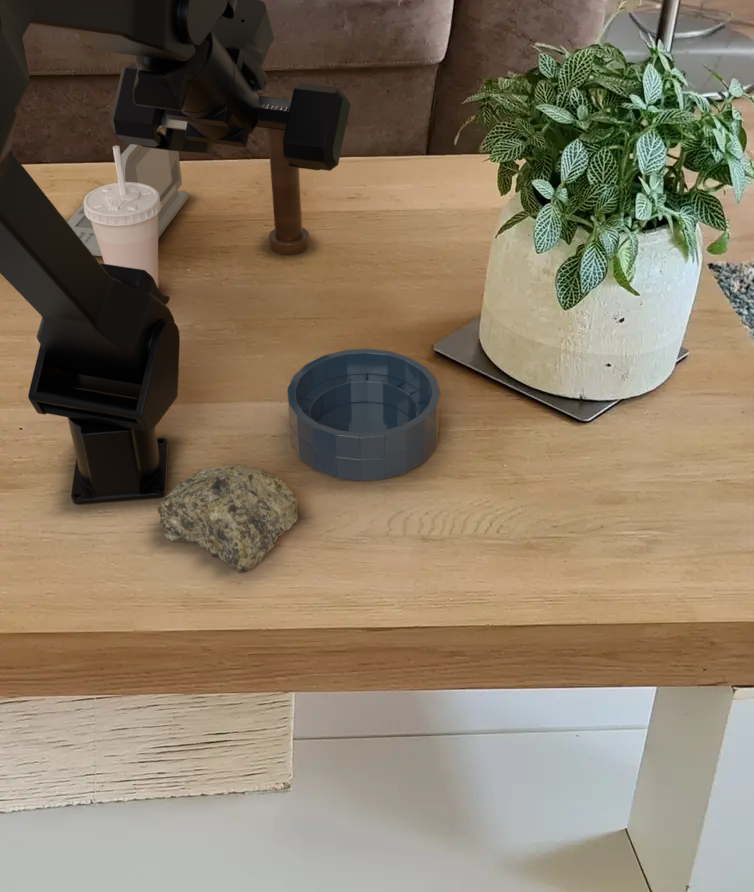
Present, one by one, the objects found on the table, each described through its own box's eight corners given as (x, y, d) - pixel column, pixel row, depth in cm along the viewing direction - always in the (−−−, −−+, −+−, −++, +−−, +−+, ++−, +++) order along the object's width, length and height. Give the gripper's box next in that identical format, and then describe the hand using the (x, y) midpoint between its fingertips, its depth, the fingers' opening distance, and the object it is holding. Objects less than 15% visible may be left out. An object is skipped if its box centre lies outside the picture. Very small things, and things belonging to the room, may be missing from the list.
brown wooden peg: (310, 254, 111) (304, 128, 104) (270, 256, 111) (261, 130, 103) (307, 235, 114) (301, 111, 106) (268, 237, 114) (259, 113, 106)
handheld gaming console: (104, 191, 120) (88, 97, 114) (189, 200, 120) (178, 105, 113) (50, 252, 110) (30, 152, 104) (143, 262, 109) (128, 162, 103)
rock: (227, 481, 85) (221, 431, 82) (312, 522, 81) (310, 472, 79) (157, 536, 80) (149, 485, 77) (245, 582, 77) (240, 531, 74)
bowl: (448, 479, 86) (450, 430, 83) (295, 491, 84) (292, 442, 81) (426, 390, 94) (427, 344, 91) (287, 400, 93) (283, 353, 90)
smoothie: (182, 281, 107) (163, 136, 98) (161, 318, 102) (140, 169, 93) (113, 276, 107) (88, 131, 98) (90, 313, 102) (61, 163, 93)
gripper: (339, -14, 85) (382, 79, 101) (104, -39, 88) (181, 55, 104) (309, 130, 84) (357, 202, 99) (72, 100, 87) (154, 174, 103)
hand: (261, 154), depth 101 cm, fingers open, 9 cm apart
